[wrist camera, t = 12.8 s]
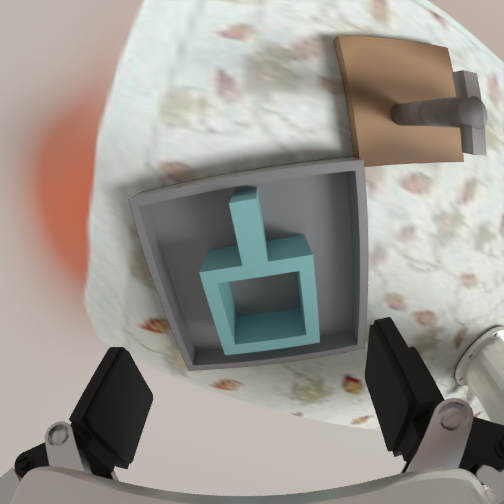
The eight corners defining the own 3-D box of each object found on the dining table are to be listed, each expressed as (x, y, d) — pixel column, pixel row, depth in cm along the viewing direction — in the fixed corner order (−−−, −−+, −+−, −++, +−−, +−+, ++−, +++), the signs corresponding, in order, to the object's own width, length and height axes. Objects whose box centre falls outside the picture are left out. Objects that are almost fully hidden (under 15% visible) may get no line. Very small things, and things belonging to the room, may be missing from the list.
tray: (356, 331, 31) (363, 348, 28) (193, 353, 33) (188, 370, 30) (352, 156, 24) (363, 160, 21) (141, 192, 25) (128, 199, 22)
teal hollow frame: (296, 180, 24) (305, 190, 20) (312, 314, 29) (319, 342, 25) (195, 199, 25) (182, 212, 21) (228, 326, 30) (225, 355, 26)
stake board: (455, 159, 23) (538, 185, 12) (355, 165, 24) (424, 192, 13) (439, 50, 18) (517, 29, 7) (333, 40, 19) (385, -17, 8)
